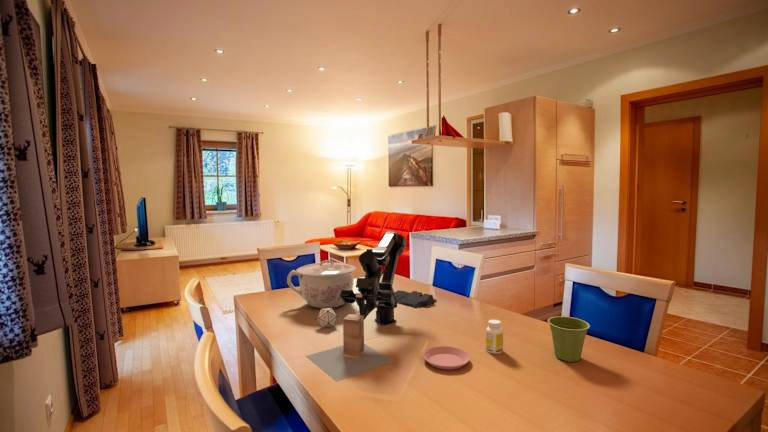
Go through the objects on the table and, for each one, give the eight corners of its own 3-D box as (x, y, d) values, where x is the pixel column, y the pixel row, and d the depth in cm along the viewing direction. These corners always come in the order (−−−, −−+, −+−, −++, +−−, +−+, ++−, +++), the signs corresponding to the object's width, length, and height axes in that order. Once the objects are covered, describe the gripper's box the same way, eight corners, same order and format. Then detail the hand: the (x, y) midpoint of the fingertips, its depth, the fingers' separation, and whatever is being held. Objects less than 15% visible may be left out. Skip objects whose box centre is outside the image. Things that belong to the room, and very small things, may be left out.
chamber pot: (368, 301, 183) (368, 258, 181) (330, 318, 160) (329, 268, 158) (323, 293, 198) (322, 253, 196) (283, 307, 175) (281, 262, 173)
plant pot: (538, 353, 124) (539, 319, 123) (565, 347, 129) (566, 314, 128) (569, 369, 113) (570, 332, 113) (597, 361, 118) (598, 325, 117)
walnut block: (349, 349, 126) (349, 313, 125) (364, 351, 125) (363, 315, 124) (343, 356, 122) (343, 319, 121) (358, 358, 120) (358, 320, 119)
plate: (440, 377, 110) (440, 370, 110) (414, 357, 122) (414, 351, 122) (479, 366, 116) (479, 359, 116) (450, 348, 129) (450, 342, 129)
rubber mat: (359, 343, 134) (359, 340, 134) (394, 364, 118) (394, 361, 118) (305, 358, 122) (305, 356, 122) (336, 384, 106) (336, 381, 106)
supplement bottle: (503, 348, 128) (503, 319, 128) (502, 355, 123) (503, 325, 123) (486, 346, 130) (486, 318, 129) (485, 353, 125) (485, 323, 124)
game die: (330, 338, 148) (332, 323, 141) (310, 329, 149) (312, 314, 143) (340, 320, 154) (343, 305, 148) (321, 312, 156) (323, 296, 149)
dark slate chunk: (403, 294, 196) (403, 285, 196) (439, 302, 181) (439, 292, 181) (383, 300, 185) (383, 291, 185) (419, 310, 170) (419, 299, 170)
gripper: (341, 266, 136) (328, 306, 126) (392, 269, 130) (382, 311, 121) (350, 283, 144) (338, 322, 134) (398, 286, 138) (390, 327, 129)
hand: (361, 320), depth 129 cm, fingers closed
